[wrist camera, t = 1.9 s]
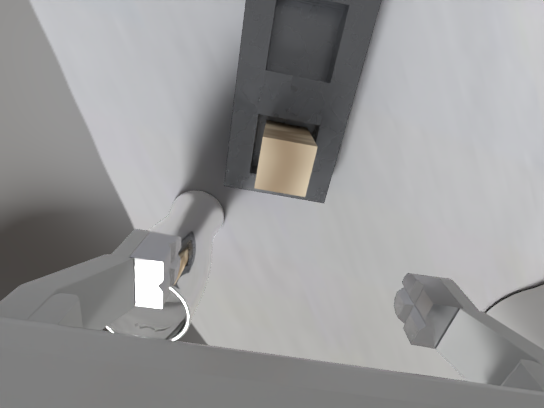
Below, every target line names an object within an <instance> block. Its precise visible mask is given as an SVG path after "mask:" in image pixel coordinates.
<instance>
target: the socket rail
mask: <svg viewBox="0 0 544 408" xmlns="http://www.w3.org/2000/svg"><path fill="white" fill-rule="evenodd" d="M380 4H381V0H246V3H245V12H244V20H243V29H242V37H241V46H240V54H239V63H238V71H237V80H236V88H235V96H234V105H233V113H232V122H231V130H230V139H229V147H228V156H227V164H226V173H225V181H224V186H227V187H233V188H239V189H245V190H251V191H256V192H262V193H268V194H274V195H279V196H285V197H291V198H297V199H302V200H308V201H314V202H320V203H324V202H325V198H326V195H327V191H328V188H329V184H330V181H331V177H332V174H333V170H334V166H335V163H336V159H337V156H338V152H339V149H340V145H341V142H342V138H343V135H344V131H345V128H346V124H347V120H348V117H349V113H350V110H351V106H352V103H353V99H354V96H355V92H356V89H357V85H358V81H359V78H360V74H361V71H362V67H363V64H364V60H365V57H366V53H367V50H368V46H369V43H370V39H371V35H372V32H373V28H374V25H375V21H376V18H377V14H378V11H379V7H380ZM266 120H270V121H275V122H280V123H286V124H291V125H296V126H301V127H307V128H308V130H309V132H310V134H311V135H312V137H313V139H314V141H315V143H316V145H317V146H318V148H317V152H316V156H315V160H314V164H313V168H312V172H311V176H310V180H309V184H308V188H307V192H306V196H305V197H301V196H296V195H290V194H284V193H278V192H273V191H267V190H261V189H255V188H254V187H255V181H256V175H257V168H258V162H259V156H260V150H261V144H262V138H263V133H264V129H265V125H266Z"/></svg>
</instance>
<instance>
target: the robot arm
mask: <svg viewBox="0 0 544 408" xmlns="http://www.w3.org/2000/svg"><path fill="white" fill-rule="evenodd" d="M180 249H181V237H180V236H175V235H170V234H164V233H159V232H153V231H152V232H151V231H147V230H141V229H135V230H133V232H132V233H131V234H130V235H129V236H128V237H127V238H126V239H125V240H124V241H123V242H122V243H121V244H120V246H119V247H118V248H117V249H116V250H115V251H114V252H113V253H112V254H111V255H109V254H105V255H102V256H100V257H97V258H94V259H91V260H89V261H86V262H83V263H80V264H78V265H75V266H72V267H69V268H67V269H64V270H61V271H58V272H56V273H53V274H50V275H47V276H44V277H42V278H39V279H36V280H34V281H31V282H28V283H25V284H23V285H20V286H19V287H17V288H16V289H15V290H14V291H13V292H11V293H10V294H9V295H8V296H6V297H5V298H4V299H3V300H2V301H1V302H0V408H544V284H543V285H541V286H539V287H536V288H533V289H529V290H526V291H522V292H519V293H517V294H514V295H512V296H510V297H508V298H506V299H504V300H502V301H501V302H499V303H498V304H496V305H495V306H493V307H492V308H491V309H490V310H489V311H488V312H487V313H485V312H481V311H479V310H478V309H477V308H476V307H475V305H474V304H473V303H472V302H471V301H470V300H469V298H468V297H467V296H466V295H465V294H464V293H463V291H462V290H461V289H460V288H459V287H458V286H457V284H456V283H455V282H454V281H453V280H451V279H449V278H442V277H432V276H425V275H418V274H411V273H408V274H407V275H406V276H405V277H404V279H403V281H402V283H403V286H404V288H402V289H401V290H399V291H398V292H397V294H396V296H395V300H394V308H395V313H396V315H397V317H398V318H399V319H400V320H401V321H402V322H403V323H405V324H404V327H403V329H404V331H405V333H406V335H407V337H408V339H409V341H410V343H411V345H417V346H423V347H429V348H434V349H436V351H437V352H438V353H439V354H440V355H441V356H442V357H443V358H444V359H445V360H446V361H447V362H448V363H449V364H450V365H451V366H452V367H453V368H454V369H455V370H456V371H457V372H458V373H459V374H460V375H461V376H462V377H463V378H464V379H465V380H466V381H462V380H455V379H448V378H441V377H433V376H426V375H419V374H411V373H404V372H397V371H390V370H382V369H375V368H368V367H361V366H354V365H347V364H339V363H332V362H325V361H318V360H311V359H304V358H296V357H289V356H282V355H275V354H267V353H260V352H253V351H246V350H238V349H231V348H224V347H216V346H209V345H202V344H194V343H187V342H180V341H173V340H165V339H158V338H151V337H144V336H137V335H130V334H123V333H116V332H108V331H101V330H102V329H104V328H105V327H107V326H108V325H109V324H111V323H112V322H114V321H115V320H117V319H118V318H119V317H121V316H122V315H124V314H125V313H127V312H128V311H130V310H131V309H132V308H134V307H135V305H136V306H144V307H153V308H163V306H164V304H165V302H166V300H167V298H168V296H169V293H170V286H172V285H174V283H175V281H176V279H177V276H178V273H179V269H180V261H181V258H180V256H179V255H178V252H179V251H180Z"/></svg>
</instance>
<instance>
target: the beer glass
mask: <svg viewBox="0 0 544 408" xmlns="http://www.w3.org/2000/svg"><path fill="white" fill-rule="evenodd" d="M223 222H224V212H223V208H222V206H221V204H220V203H219V202H218V200H217V199H216V198H214V197H213V196H212V195H210V194H208V193H206V192H203V191H198V190H192V191H187V192H184V193H182V194H181V195H179V196H178V197H177V198H176V199H175V200H174V202H173V204H172V206H171V209H170V212H169V214H168V215H167V216H166V217H165V218H164V219H162V220H161V221H159V222H158V223H157V224H155V225H154V226H152V227H151V228H150V229H148V230H147V231H151V232H152V231H153V232H159V233H164V234H170V235H175V236H180V237H181V249H180V251H179V252H178V255H179V256H180V258H181V261H180V269H179V273H178V276H177V279H176V281H175V283H174V285H172V286H170V293H169V296H168V298H167V300H166V302H165V304H164V306H163V308H153V307H144V306H136V305H135V307H134V308H132V309H131V310H130V311H128V312H127V313H125V314H124V315H122V316H121V317H119V318H118V319H117V320H115V321H114V322H112V323H111V324H109V325H108V326H107V327H105V328H106V329H107V330H109V331H110V332H116V333H123V334H130V335H137V336H144V337H151V338H158V339H165V340H173V341H176V340H178V339H179V338H181V337H182V336H183V335H184V334H185V333H186V332H187V330H188V328H189V326H190V323H191V320H192V318H193V316H194V314H195V312H196V310H197V307H198V305H199V303H200V301H201V298H202V296H203V293H204V291H205V288H206V285H207V281H208V278H209V274H210V269H211V262H212V249H213V239H214V236H215V235H216V234H217V233H218V232H219V230H220V229H221V227H222V225H223Z"/></svg>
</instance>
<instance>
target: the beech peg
mask: <svg viewBox="0 0 544 408" xmlns="http://www.w3.org/2000/svg"><path fill="white" fill-rule="evenodd" d="M317 148H318V146H317V145H316V143H315V141H314V139H313V137H312V135H311V134H310V132H309V130H308V128H307V127H301V126H296V125H291V124H286V123H280V122H275V121H270V120H266V125H265V129H264V133H263V138H262V144H261V150H260V156H259V162H258V168H257V175H256V181H255V187H254V188H255V189H261V190H267V191H273V192H278V193H284V194H290V195H296V196H301V197H305V196H306V192H307V188H308V184H309V180H310V176H311V172H312V168H313V164H314V160H315V156H316V152H317Z"/></svg>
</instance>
